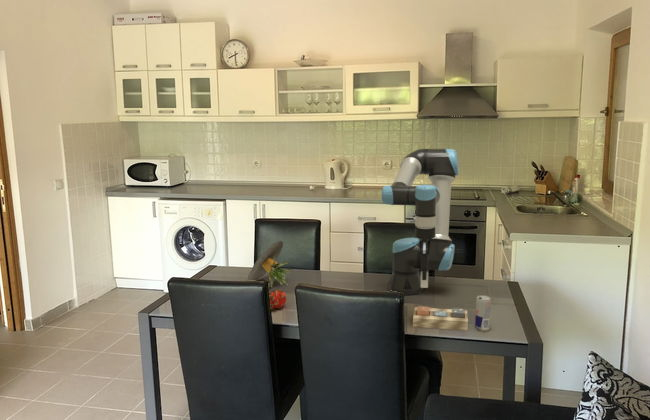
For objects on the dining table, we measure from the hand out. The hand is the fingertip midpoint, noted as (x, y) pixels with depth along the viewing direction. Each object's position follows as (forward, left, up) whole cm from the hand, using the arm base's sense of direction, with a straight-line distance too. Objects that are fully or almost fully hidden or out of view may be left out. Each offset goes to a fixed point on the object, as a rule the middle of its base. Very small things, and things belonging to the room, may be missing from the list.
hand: (424, 287), depth 205 cm
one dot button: (0, 0, -11) cm, 11 cm away
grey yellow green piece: (-78, -14, -14) cm, 80 cm away
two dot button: (+10, +7, -11) cm, 17 cm away
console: (+5, +4, -14) cm, 15 cm away
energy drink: (+19, +10, -14) cm, 26 cm away
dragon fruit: (-53, -30, -14) cm, 63 cm away
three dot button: (+5, +4, -13) cm, 14 cm away
